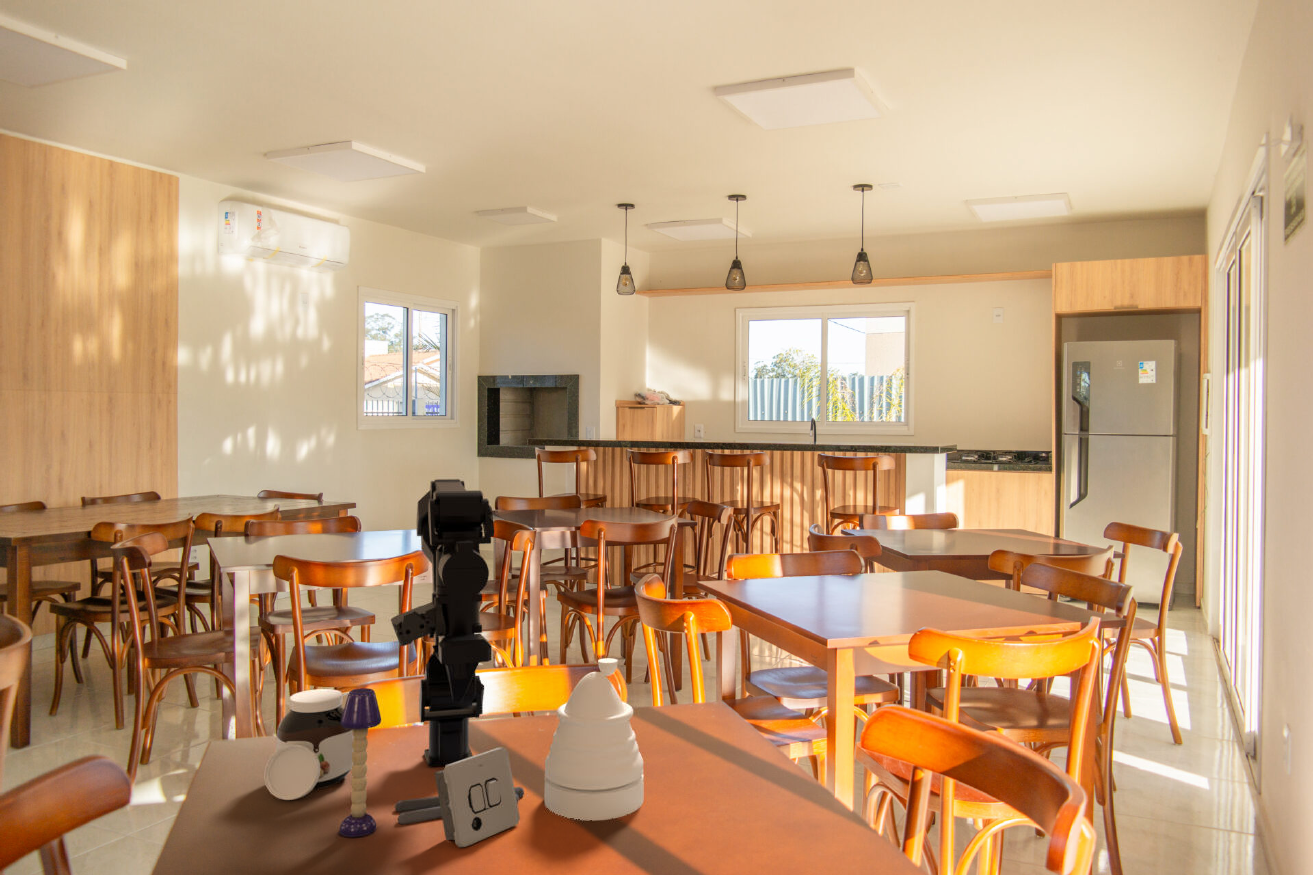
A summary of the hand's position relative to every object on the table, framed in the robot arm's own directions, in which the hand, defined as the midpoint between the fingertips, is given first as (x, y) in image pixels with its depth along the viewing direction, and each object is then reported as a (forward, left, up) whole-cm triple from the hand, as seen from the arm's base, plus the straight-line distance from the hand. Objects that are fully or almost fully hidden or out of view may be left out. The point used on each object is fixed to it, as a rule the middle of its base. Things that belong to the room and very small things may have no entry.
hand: (457, 701), depth 125 cm
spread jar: (-8, -19, -12) cm, 24 cm away
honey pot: (+9, +16, -12) cm, 22 cm away
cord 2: (+7, -1, -12) cm, 14 cm away
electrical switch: (+14, 0, -12) cm, 18 cm away
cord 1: (+4, 0, -12) cm, 13 cm away
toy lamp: (+9, -13, -12) cm, 20 cm away
